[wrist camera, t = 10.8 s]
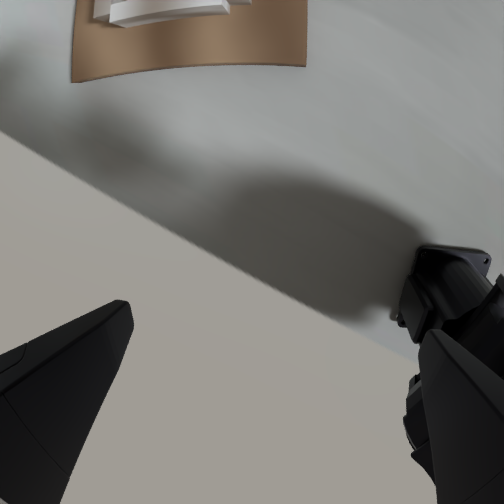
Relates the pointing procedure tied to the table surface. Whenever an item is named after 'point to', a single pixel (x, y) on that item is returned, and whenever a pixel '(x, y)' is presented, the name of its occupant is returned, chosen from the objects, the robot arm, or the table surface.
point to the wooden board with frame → (185, 35)
